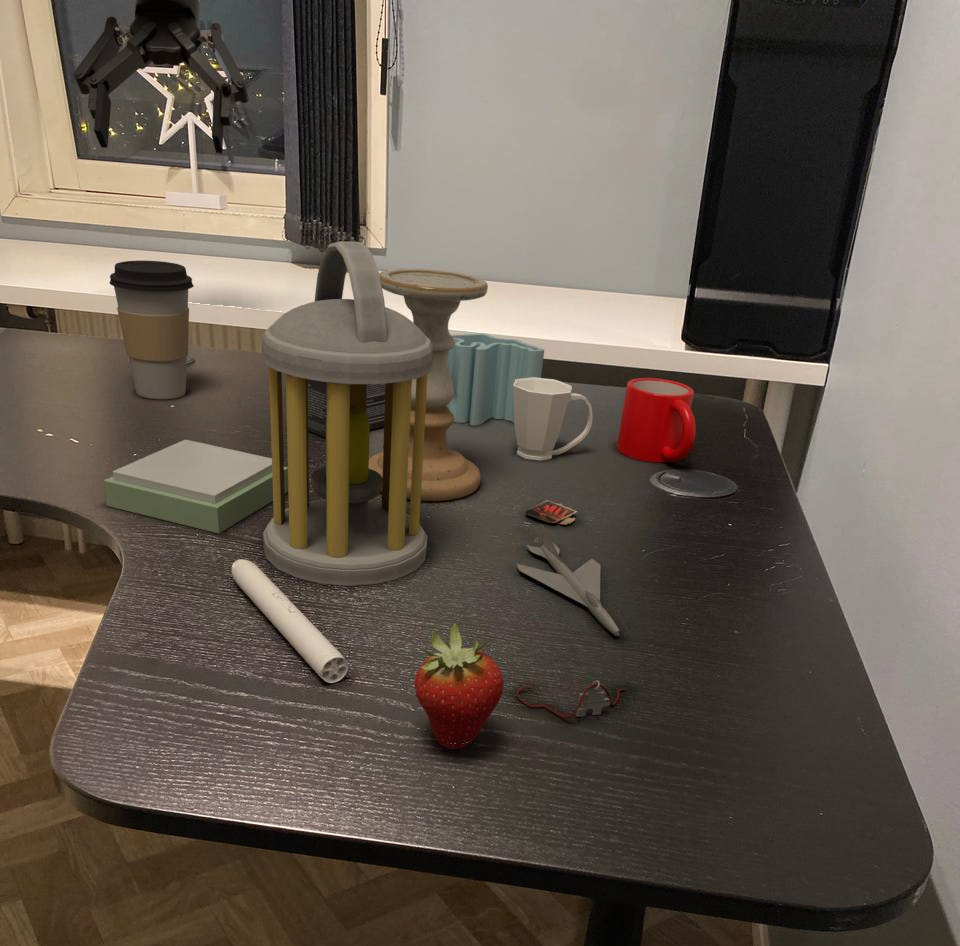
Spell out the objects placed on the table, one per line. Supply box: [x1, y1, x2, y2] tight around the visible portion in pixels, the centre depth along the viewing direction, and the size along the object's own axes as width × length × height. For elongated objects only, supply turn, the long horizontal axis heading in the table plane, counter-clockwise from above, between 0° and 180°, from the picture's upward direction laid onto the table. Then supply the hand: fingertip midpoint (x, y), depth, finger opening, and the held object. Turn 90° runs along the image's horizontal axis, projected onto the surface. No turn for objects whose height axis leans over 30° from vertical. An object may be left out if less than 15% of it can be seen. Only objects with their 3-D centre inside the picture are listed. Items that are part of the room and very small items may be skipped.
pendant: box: [516, 680, 628, 719], centre depth 61 cm, size 8×4×3 cm, turn 107°
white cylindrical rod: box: [231, 558, 349, 684], centre depth 67 cm, size 18×2×2 cm, turn 34°
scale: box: [103, 439, 288, 534], centre depth 86 cm, size 12×12×3 cm
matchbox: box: [525, 499, 578, 526], centre depth 91 cm, size 5×5×1 cm
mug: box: [616, 377, 697, 463], centre depth 108 cm, size 8×12×8 cm, turn 24°
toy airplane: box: [516, 524, 621, 637], centre depth 78 cm, size 8×21×2 cm, turn 18°
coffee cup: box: [108, 260, 195, 401], centre depth 111 cm, size 9×9×15 cm
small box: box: [308, 379, 386, 439], centre depth 107 cm, size 11×6×10 cm, turn 138°
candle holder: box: [369, 268, 489, 502], centre depth 91 cm, size 12×12×20 cm
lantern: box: [261, 240, 433, 587], centre depth 74 cm, size 14×14×25 cm
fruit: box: [414, 622, 505, 750], centre depth 55 cm, size 5×5×8 cm
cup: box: [513, 377, 594, 462], centre depth 105 cm, size 7×10×8 cm
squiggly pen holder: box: [446, 333, 545, 427], centre depth 114 cm, size 18×10×9 cm, turn 116°
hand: (159, 142), depth 109 cm, fingers open, 13 cm apart
